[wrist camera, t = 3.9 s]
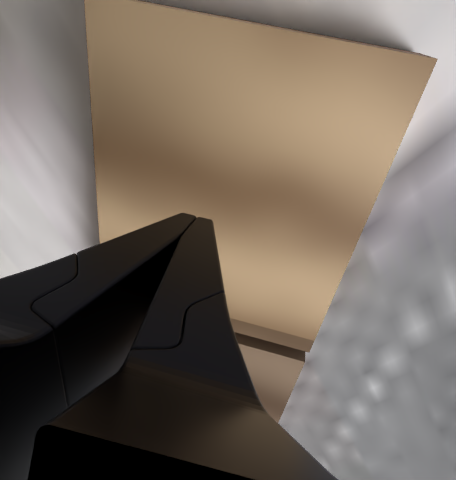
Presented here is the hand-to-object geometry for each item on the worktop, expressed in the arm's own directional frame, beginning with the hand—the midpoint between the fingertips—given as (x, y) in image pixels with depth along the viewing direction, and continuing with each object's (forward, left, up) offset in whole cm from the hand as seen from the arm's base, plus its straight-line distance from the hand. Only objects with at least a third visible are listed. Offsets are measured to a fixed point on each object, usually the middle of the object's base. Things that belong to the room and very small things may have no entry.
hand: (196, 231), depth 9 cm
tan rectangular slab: (-1, 0, -6) cm, 6 cm away
